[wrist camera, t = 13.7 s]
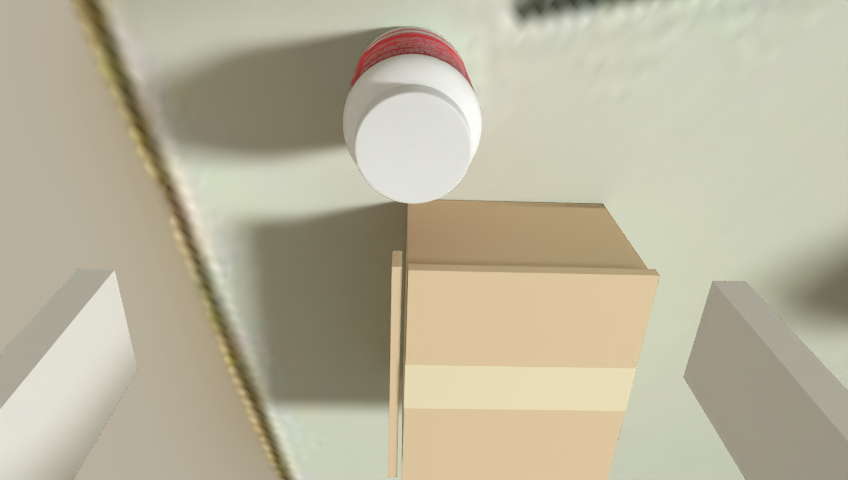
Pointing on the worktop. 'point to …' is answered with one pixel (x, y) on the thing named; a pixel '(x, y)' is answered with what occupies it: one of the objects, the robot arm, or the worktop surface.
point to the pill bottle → (411, 116)
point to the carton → (513, 238)
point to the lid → (514, 369)
